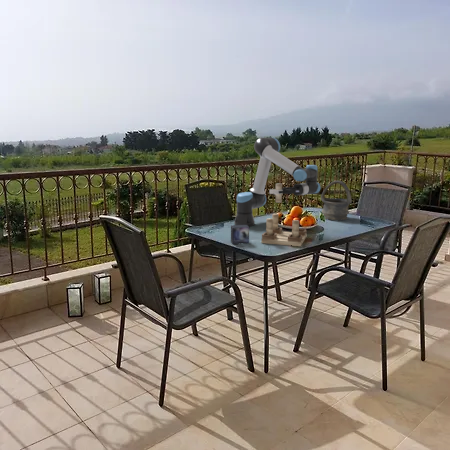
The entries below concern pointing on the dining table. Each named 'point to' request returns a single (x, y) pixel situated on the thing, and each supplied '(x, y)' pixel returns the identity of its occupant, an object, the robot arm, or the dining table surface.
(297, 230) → the upturned wooden stool
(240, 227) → the small box
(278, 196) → the loose leg
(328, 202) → the wicker basket
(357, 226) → the dining table surface
